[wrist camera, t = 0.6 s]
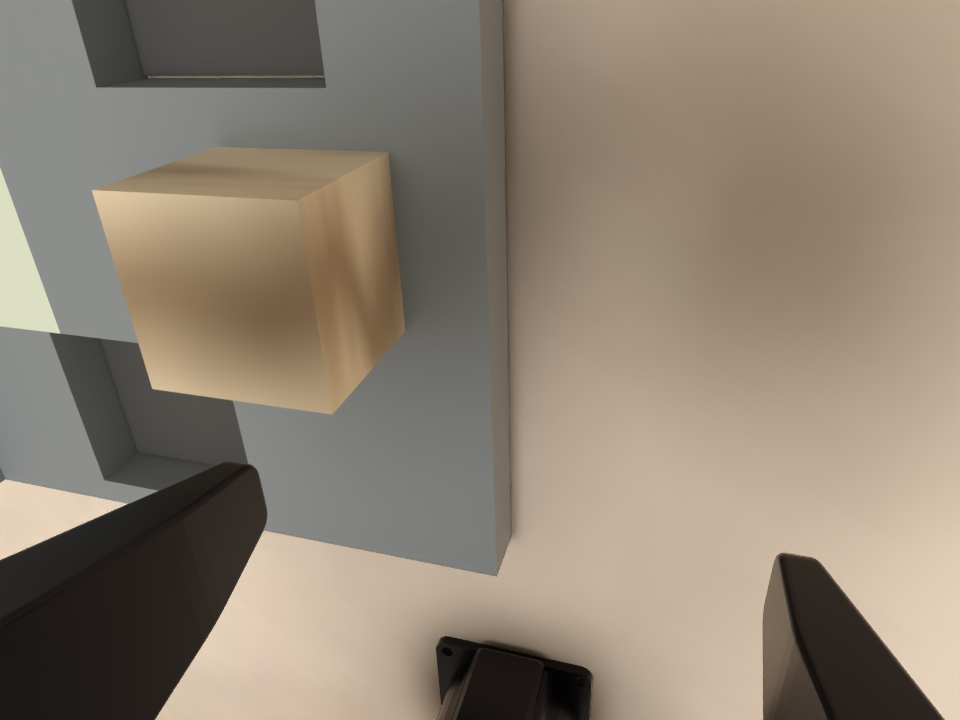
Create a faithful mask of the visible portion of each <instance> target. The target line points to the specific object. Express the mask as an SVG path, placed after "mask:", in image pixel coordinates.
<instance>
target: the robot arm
mask: <svg viewBox="0 0 960 720" xmlns="http://www.w3.org/2000/svg"><path fill="white" fill-rule="evenodd" d="M266 522H267V506H266V502H265V498H264V493H263V489H262V485H261V480H260V476H259V473H258V470H257V469H256V468H255V467H254V466H252V465H250V464H245V463H239V462H233V461H226V462H223V463H220V464H218V465H216V466H213V467H211V468H209V469H207V470H204V471H202V472H200V473H198V474H195V475H193V476H191V477H188V478H186V479H184V480H182V481H179V482H177V483H175V484H173V485H170V486H168V487H166V488H163V489H161V490H159V491H157V492H154V493H152V494H150V495H148V496H145V497H143V498H141V499H138V500H136V501H134V502H132V503H129V504H127V505H125V506H123V507H120V508H118V509H116V510H113V511H111V512H109V513H107V514H104V515H102V516H100V517H98V518H95V519H93V520H91V521H88V522H86V523H84V524H82V525H79V526H77V527H75V528H73V529H70V530H68V531H66V532H63V533H61V534H59V535H57V536H54V537H52V538H50V539H48V540H45V541H43V542H41V543H38V544H36V545H34V546H32V547H29V548H27V549H25V550H23V551H20V552H18V553H16V554H13V555H11V556H9V557H7V558H4V559H2V560H0V720H155V719H156V717H157V716H158V714H159V712H160V711H161V709H162V708H163V706H164V705H165V703H166V701H167V700H168V698H169V697H170V695H171V694H172V692H173V691H174V689H175V687H176V686H177V684H178V683H179V681H180V680H181V678H182V676H183V675H184V673H185V672H186V670H187V669H188V667H189V665H190V664H191V662H192V661H193V659H194V658H195V656H196V655H197V653H198V651H199V650H200V648H201V647H202V645H203V644H204V642H205V640H206V639H207V637H208V635H209V634H210V632H211V631H212V629H213V627H214V626H215V624H216V622H217V620H218V618H219V617H220V615H221V613H222V611H223V609H224V607H225V605H226V603H227V601H228V599H229V598H230V596H231V594H232V592H233V590H234V588H235V586H236V584H237V582H238V580H239V578H240V576H241V574H242V572H243V570H244V568H245V566H246V564H247V562H248V560H249V558H250V556H251V554H252V552H253V550H254V548H255V546H256V544H257V543H258V541H259V539H260V537H261V535H262V533H263V531H264V528H265V526H266ZM436 653H437V663H438V674H439V684H440V695H441V705H442V707H441V709H440V712H439V715H438V717H437V720H590V711H591V696H592V681H593V676H592V674H591V672H590V671H589V670H587V669H586V668H584V667H581V666H577V665H572V664H568V663H564V662H559V661H555V660H550V659H546V658H541V657H537V656H533V655H528V654H524V653H519V652H515V651H510V650H506V649H502V648H497V647H493V646H488V645H484V644H479V643H475V642H471V641H466V640H462V639H457V638H453V637H447V636H445V637H442V638H441V639H440V640H439V642H438V644H437V647H436ZM579 678H580V679H579ZM763 720H945V719H944V718H943V717H942V716H941V714H940V713H939V712H938V710H937V709H936V708H935V707H934V705H933V704H932V703H931V702H930V700H929V699H928V698H927V697H926V695H925V694H924V693H923V692H922V690H921V689H920V688H919V686H918V685H917V684H916V683H915V681H914V680H913V679H912V678H911V676H910V675H909V674H908V673H907V671H906V670H905V669H904V668H903V666H902V665H901V664H900V662H899V661H898V660H897V659H896V657H895V656H894V655H893V654H892V652H891V651H890V650H889V649H888V647H887V646H886V645H885V644H884V642H883V641H882V640H881V638H880V637H879V636H878V635H877V633H876V632H875V631H874V630H873V628H872V627H871V626H870V625H869V623H868V622H867V621H866V620H865V618H864V617H863V616H862V614H861V613H860V612H859V611H858V609H857V608H856V607H855V606H854V604H853V603H852V602H851V601H850V599H849V598H848V597H847V596H846V594H845V593H844V592H843V590H842V589H841V588H840V587H839V585H838V584H837V583H836V582H835V580H834V579H833V578H832V577H831V575H830V574H829V573H828V572H827V570H826V569H825V568H824V566H823V565H822V564H821V563H820V562H819V561H818V560H816V559H814V558H812V557H806V556H800V555H794V554H788V553H780V554H778V555H777V556H776V558H775V560H774V564H773V569H772V573H771V578H770V582H769V586H768V591H767V595H766V600H765V605H764V612H763Z"/></svg>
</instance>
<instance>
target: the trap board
mask: <svg viewBox="0 0 960 720" xmlns="http://www.w3.org/2000/svg"><path fill="white" fill-rule="evenodd" d="M209 75H325V78H162V79H147V77H146V76H209ZM216 147H237V148H271V149H306V150H340V151H375V152H388V153H389V164H390V174H391V185H392V195H393V206H394V216H395V227H396V237H397V248H398V258H399V269H400V279H401V290H402V300H403V311H404V321H405V332H404V333H403V334H402V335H401V336H400V338H399V339H398V340H397V341H396V342H395V343H394V344H393V346H392V347H391V348H390V349H389V350H388V351H387V352H386V354H385V355H384V356H383V357H382V358H381V359H380V361H379V362H378V363H377V364H376V365H375V366H374V367H373V369H372V370H371V371H370V372H369V373H368V374H367V375H366V377H365V378H364V379H363V380H362V381H361V382H360V384H359V385H358V386H357V387H356V388H355V389H354V390H353V392H352V393H351V394H350V395H349V396H348V397H347V398H346V400H345V401H344V402H343V403H342V404H341V405H340V406H339V408H338V409H337V410H336V411H335V412H334V413H333V415H331V414H324V413H317V412H310V411H303V410H296V409H289V408H282V407H275V406H268V405H261V404H254V403H247V402H240V401H233V400H226V399H219V398H212V397H205V396H198V395H191V394H184V393H177V392H170V391H163V390H156V389H152V386H151V383H150V380H149V376H148V373H147V370H146V367H145V363H144V360H143V357H142V353H141V350H140V347H139V344H138V340H137V337H136V334H135V330H134V327H133V324H132V321H131V317H130V314H129V311H128V308H127V304H126V301H125V298H124V294H123V291H122V288H121V285H120V281H119V278H118V275H117V272H116V268H115V265H114V262H113V258H112V255H111V252H110V249H109V245H108V242H107V239H106V235H105V232H104V229H103V226H102V222H101V219H100V216H99V213H98V209H97V206H96V203H95V199H94V196H93V193H92V190H93V189H96V188H99V187H102V186H105V185H108V184H111V183H114V182H117V181H120V180H122V179H125V178H128V177H131V176H134V175H137V174H140V173H143V172H146V171H149V170H152V169H155V168H158V167H161V166H163V165H166V164H169V163H172V162H175V161H178V160H181V159H184V158H187V157H190V156H193V155H196V154H199V153H202V152H204V151H207V150H210V149H213V148H216ZM226 461H233V462H239V463H245V464H250V465H252V466H254V467H255V468H256V469H257V470H258V473H259V476H260V480H261V485H262V489H263V493H264V498H265V502H266V506H267V522H266V526H265V528H264V530H265V531H270V532H275V533H280V534H285V535H290V536H295V537H300V538H305V539H310V540H315V541H320V542H326V543H331V544H336V545H341V546H346V547H351V548H356V549H361V550H366V551H371V552H376V553H381V554H386V555H391V556H396V557H401V558H406V559H411V560H417V561H422V562H427V563H432V564H437V565H442V566H447V567H452V568H457V569H462V570H467V571H472V572H477V573H482V574H487V575H492V576H497V574H498V572H499V569H500V566H501V563H502V560H503V558H504V555H505V552H506V549H507V547H508V544H509V541H510V538H511V490H510V427H509V365H508V302H507V240H506V177H505V115H504V52H503V0H0V483H1V482H2V481H3V480H5V479H7V480H12V481H17V482H22V483H27V484H32V485H37V486H42V487H47V488H52V489H57V490H63V491H68V492H73V493H78V494H83V495H88V496H93V497H98V498H103V499H108V500H113V501H118V502H123V503H128V504H129V503H132V502H134V501H136V500H138V499H141V498H143V497H145V496H148V495H150V494H152V493H154V492H157V491H159V490H161V489H163V488H166V487H168V486H170V485H173V484H175V483H177V482H179V481H182V480H184V479H186V478H188V477H191V476H193V475H195V474H198V473H200V472H202V471H204V470H207V469H209V468H211V467H213V466H216V465H218V464H220V463H223V462H226Z"/></svg>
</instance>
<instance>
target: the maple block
mask: <svg viewBox="0 0 960 720" xmlns="http://www.w3.org/2000/svg"><path fill="white" fill-rule="evenodd" d="M92 193H93V196H94V199H95V203H96V206H97V209H98V213H99V216H100V219H101V222H102V226H103V229H104V232H105V235H106V239H107V242H108V245H109V249H110V252H111V255H112V258H113V262H114V265H115V268H116V272H117V275H118V278H119V281H120V285H121V288H122V291H123V294H124V298H125V301H126V304H127V308H128V311H129V314H130V317H131V321H132V324H133V327H134V330H135V334H136V337H137V340H138V344H139V347H140V350H141V353H142V357H143V360H144V363H145V367H146V370H147V373H148V376H149V380H150V383H151V386H152V389H156V390H163V391H170V392H177V393H184V394H191V395H198V396H205V397H212V398H219V399H226V400H233V401H240V402H247V403H254V404H261V405H268V406H275V407H282V408H289V409H296V410H303V411H310V412H317V413H324V414H331V415H333V413H334V412H335V411H336V410H337V409H338V408H339V406H340V405H341V404H342V403H343V402H344V401H345V400H346V398H347V397H348V396H349V395H350V394H351V393H352V392H353V390H354V389H355V388H356V387H357V386H358V385H359V384H360V382H361V381H362V380H363V379H364V378H365V377H366V375H367V374H368V373H369V372H370V371H371V370H372V369H373V367H374V366H375V365H376V364H377V363H378V362H379V361H380V359H381V358H382V357H383V356H384V355H385V354H386V352H387V351H388V350H389V349H390V348H391V347H392V346H393V344H394V343H395V342H396V341H397V340H398V339H399V338H400V336H401V335H402V334H403V333H404V332H405V321H404V311H403V300H402V290H401V279H400V269H399V258H398V248H397V237H396V227H395V216H394V206H393V195H392V185H391V174H390V164H389V153H388V152H375V151H340V150H306V149H271V148H237V147H216V148H213V149H210V150H207V151H204V152H202V153H199V154H196V155H193V156H190V157H187V158H184V159H181V160H178V161H175V162H172V163H169V164H166V165H163V166H161V167H158V168H155V169H152V170H149V171H146V172H143V173H140V174H137V175H134V176H131V177H128V178H125V179H122V180H120V181H117V182H114V183H111V184H108V185H105V186H102V187H99V188H96V189H93V190H92Z"/></svg>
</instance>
